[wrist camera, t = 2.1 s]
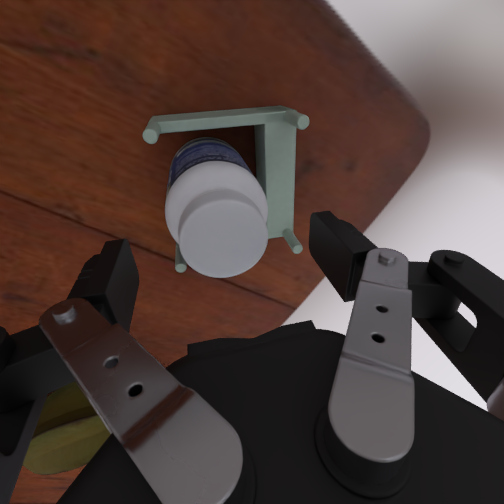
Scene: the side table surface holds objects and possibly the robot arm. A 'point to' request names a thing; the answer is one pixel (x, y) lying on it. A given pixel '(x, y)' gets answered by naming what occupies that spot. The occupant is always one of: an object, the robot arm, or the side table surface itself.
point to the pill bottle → (215, 209)
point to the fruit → (65, 433)
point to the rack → (266, 151)
